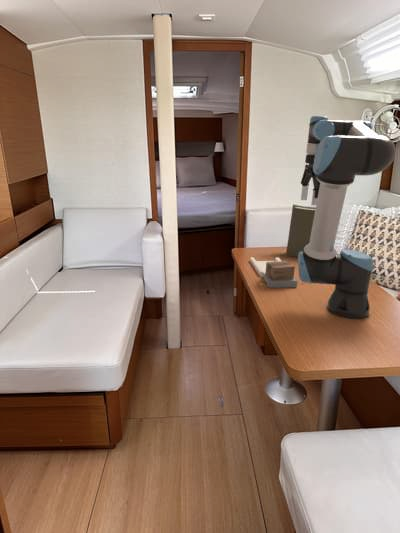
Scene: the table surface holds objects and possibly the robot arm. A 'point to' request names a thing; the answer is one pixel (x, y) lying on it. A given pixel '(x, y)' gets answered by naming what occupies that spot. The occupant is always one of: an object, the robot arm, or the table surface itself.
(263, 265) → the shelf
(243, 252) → the table surface
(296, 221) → the book
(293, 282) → the plinth
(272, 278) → the block
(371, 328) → the table surface
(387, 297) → the table surface
